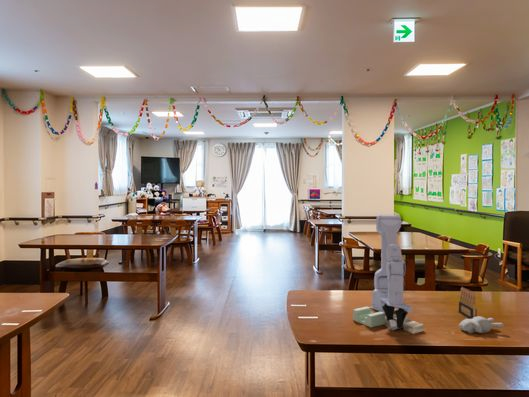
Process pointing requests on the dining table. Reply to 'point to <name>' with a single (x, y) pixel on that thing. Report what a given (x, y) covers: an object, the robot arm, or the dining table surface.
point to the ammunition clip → (467, 304)
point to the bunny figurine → (478, 325)
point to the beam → (410, 326)
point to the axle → (393, 323)
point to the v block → (368, 317)
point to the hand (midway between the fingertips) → (394, 325)
